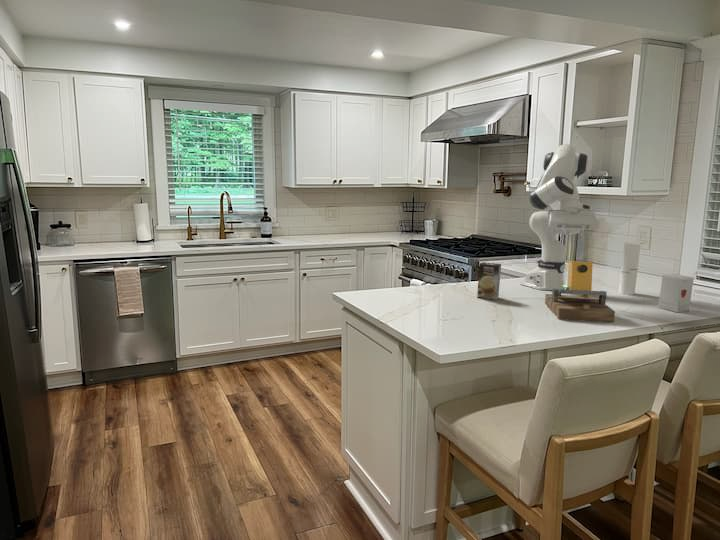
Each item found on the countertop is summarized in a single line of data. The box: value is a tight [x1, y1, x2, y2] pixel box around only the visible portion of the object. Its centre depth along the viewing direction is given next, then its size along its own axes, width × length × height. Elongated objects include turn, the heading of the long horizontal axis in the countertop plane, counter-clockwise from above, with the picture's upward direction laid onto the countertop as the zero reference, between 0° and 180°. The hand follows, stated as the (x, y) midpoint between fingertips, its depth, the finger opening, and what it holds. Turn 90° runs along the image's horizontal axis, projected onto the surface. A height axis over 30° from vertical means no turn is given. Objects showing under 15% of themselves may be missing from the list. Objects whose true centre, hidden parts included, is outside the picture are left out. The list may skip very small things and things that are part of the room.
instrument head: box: [558, 260, 608, 296], centre depth 223 cm, size 18×16×14 cm
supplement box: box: [657, 273, 695, 313], centre depth 233 cm, size 9×9×15 cm
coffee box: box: [476, 261, 502, 300], centre depth 246 cm, size 9×6×16 cm
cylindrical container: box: [618, 242, 642, 296], centre depth 263 cm, size 7×7×25 cm
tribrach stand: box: [544, 289, 616, 323], centre depth 223 cm, size 26×21×10 cm
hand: (574, 234), depth 234 cm, fingers open, 5 cm apart
